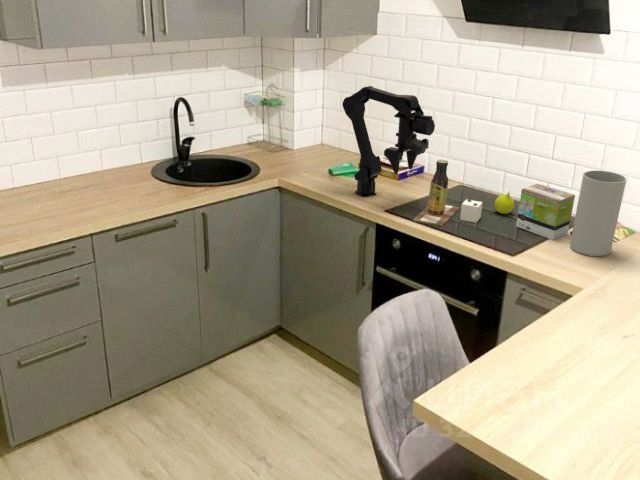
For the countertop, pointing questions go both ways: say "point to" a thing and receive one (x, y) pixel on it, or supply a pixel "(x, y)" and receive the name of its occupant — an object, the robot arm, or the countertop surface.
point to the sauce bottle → (438, 189)
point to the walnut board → (436, 216)
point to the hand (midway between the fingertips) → (403, 171)
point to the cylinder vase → (597, 212)
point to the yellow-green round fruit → (504, 204)
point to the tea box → (545, 211)
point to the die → (471, 210)
